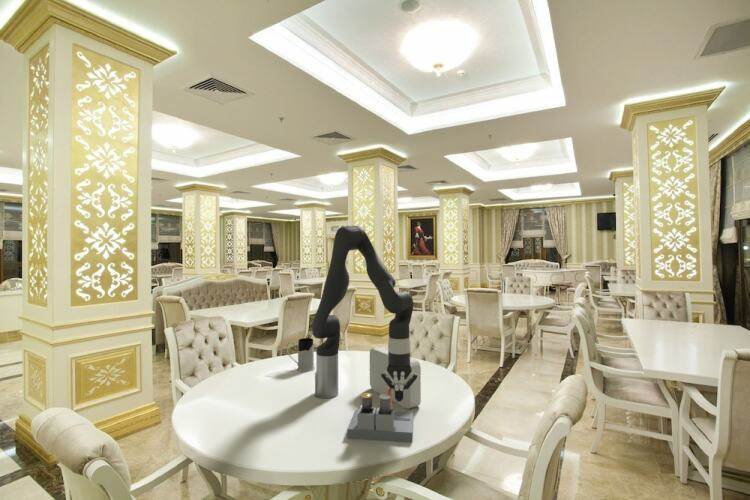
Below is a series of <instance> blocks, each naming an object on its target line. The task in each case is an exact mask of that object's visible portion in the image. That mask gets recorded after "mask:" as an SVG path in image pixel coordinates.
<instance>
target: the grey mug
mask: <svg viewBox="0 0 750 500" xmlns="http://www.w3.org/2000/svg"><path fill="white" fill-rule="evenodd" d="M289 344H293V346H294V350H295V351H297V360H298V361H297V360H296V359H294V358H293V357H292V356H291V354H290V352H289V349H288V345H289ZM296 347H297V346H296V344H295V342H293V341H290V342H288V343H287V344H286V351H287V355H288V356H289V357H290V359H291V360H292V361H294V362H295V363H296V364H297V371H298V372H305V373H306V372H312V371H314V370H315V363H314V361H315V360H314V354H315V353H314V351H315V350H314V349H315V348H314V339H313V338H310V337H308V338H307V337H306V338H305V337H304V338H299V339H298V349H297V348H296Z"/></svg>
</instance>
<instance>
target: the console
mask: <svg viewBox="0 0 750 500" xmlns="http://www.w3.org/2000/svg"><path fill="white" fill-rule="evenodd" d="M394 409H395V408H393V407H392V408H390V412H389V413H381V412H380V407H372V411H371V412H369V413H365V412H362V407H361V406H360V407H359V409H354V412H353V415H352V417H351V419H350V421H349V425H348V427H347V429H346V430H347V431H346V433H347V439H348V440H349V439H353V440H367V441H368V440H370V441H387V442H403V443H404V442H405V443H414V442H413V441H414V440H413V439H414V438H413V436H414V435H413V434H414V412H411V411H410V412H408V411H395V410H394Z"/></svg>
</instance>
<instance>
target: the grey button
mask: <svg viewBox="0 0 750 500" xmlns="http://www.w3.org/2000/svg"><path fill="white" fill-rule="evenodd" d="M390 398H391V396H390V395H389V394H379V408H380V412H381V413H389V412H390Z"/></svg>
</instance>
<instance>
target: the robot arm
mask: <svg viewBox="0 0 750 500" xmlns="http://www.w3.org/2000/svg"><path fill="white" fill-rule="evenodd" d="M356 250H358V251H359V253H361V255H362V256H363V258H364V261H365V268H366V269H365V270H366V274H367V276H368V278H369V279H370V282H371V283H372V284H373V285H374V287H375V288H376V289H377V291H378V295H379V297H380V299H381V300H380V301H382V305H383V307H384V308H385V309H386V310H387V311H388V313H391V314H395V315H394V317H393V318H392V319H391V320H390V321H389V324H388V343H387V344H388V346H387V349H388V367H387V370H386V371H384V372H382V374H381V377H382V378H383V379H384V381H385V382H386V383H387V385H388V386H389V387H390V388H391V389H394V390H395V399H396V400H397V401H401V400H403V391H404V390H405V389H408V388H409V387H410V386H411V385H412V383H413V382H414V381H415V380H416V378H417V373H414V372H413V371H412V368H411V366H410V358H411V339H410V323H411V320H412V314H413V312H414V299H413V297H412V295H411V294H410V293H409V292H408V291H405V290H403V291H396V290H395V287H396V283H397V282H396V280H395V278H394V277H393V275H392V274H391V273H390V271H389V270H388V269H387V267H386V266H385V265H384V264H383V262H382V260H381V259H380V257H379V255H378V252H377V250H376V249H375V247H374V245H373V242H372V241H371V239H370V238H369V235H368V233H367V232H366V230H365V229H364V228H363V227H362V226H360V225H347V226H341V227H339V228H338V229H337V230H336V232H335V235H334V239H333V247H332V252H331V258H330V259H331V260H330V264H329V267H328V271H327V275H326V278H325V283H324V286H323V289H322V290H323V291H322V294H321V298H320V302H319V305H318V308H317V309H316V312H315V315H314V317H313V321H312V326H311V331H312V336H313V337H314V338H315V339H325V341H324V342H322V343H321V344H319V345H318V346H317V347H316V352H315V353H316V354H315V355H316V357H315V359H316V364H315V365H316V372H315V374H314V396H315V397H318V398H322V399H330V398H331V399H332V398H334V397H336V396H338V395H339V350H340V349H339V348H340V344H341V343H340V339H341V338H340V336H341V323H340V322H341V321H340V319H339V317H338V316H337V315H335V314H331V312H332V311H333V310H334V309H335V308H336V307H337V306H338V304H340V303H341V302H342V300H343V299H344V298H345V296H346V294H347V292H348V288H349V284H350V275H349V272H348V269H347V266H346V262H347V258H348V256H349V255H348V254H349V252H350V251H356ZM388 373H389V374H390V376H391V377H392V379H394V384H393V382H392V381H391V380H390V378H389V377H388V376H389V375H388ZM409 374H411V375H410V379H409V380H408V382H407V383H406V384H404V380H405V379H406V378H407V377H408V376H409ZM398 380H400V389H399V383H398Z"/></svg>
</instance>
